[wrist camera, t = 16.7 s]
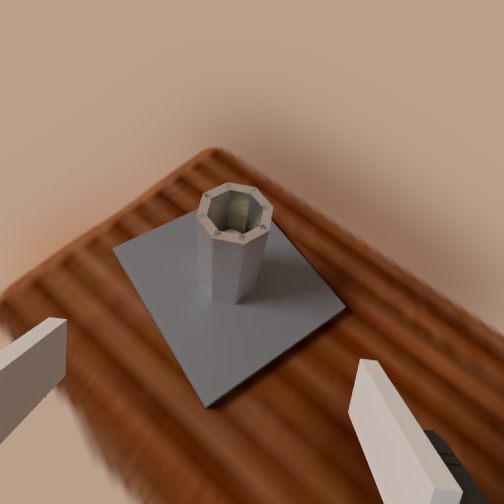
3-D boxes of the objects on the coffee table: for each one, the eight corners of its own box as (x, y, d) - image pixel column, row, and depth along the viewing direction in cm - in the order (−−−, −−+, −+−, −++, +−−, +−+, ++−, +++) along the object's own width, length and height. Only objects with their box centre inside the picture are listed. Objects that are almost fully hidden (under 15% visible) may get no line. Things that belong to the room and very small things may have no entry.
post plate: (341, 311, 40) (376, 271, 32) (205, 409, 33) (204, 390, 25) (242, 195, 47) (249, 137, 39) (115, 255, 41) (91, 201, 32)
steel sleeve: (266, 285, 39) (286, 221, 29) (220, 313, 37) (225, 254, 27) (235, 246, 41) (244, 174, 31) (191, 270, 39) (184, 201, 29)
